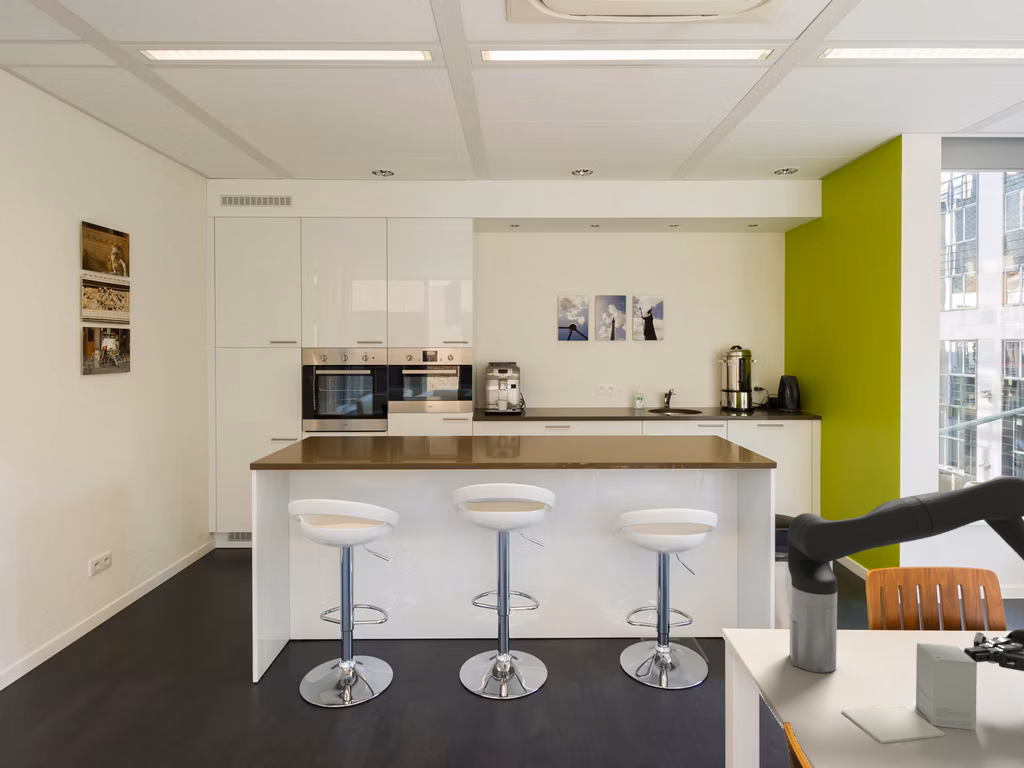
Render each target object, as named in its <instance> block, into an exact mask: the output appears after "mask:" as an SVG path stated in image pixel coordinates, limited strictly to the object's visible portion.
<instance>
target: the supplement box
mask: <svg viewBox="0 0 1024 768" xmlns="http://www.w3.org/2000/svg"><path fill="white" fill-rule="evenodd" d="M977 666H978V662H975V661H974V660H973V659H972V658H970V657H969V656H968V655H967V654H966V653H965V652H964V650H962V649H961V648H960V647H959V646H957V645H948V644H937V643H920V642H917V643H916V671H915V673H916V676H915V677H916V679H915V680H916V682H915V683H916V684H915V687H916V689H915V706H916V708H918V710H919V711H920V712H921V713H922V715H923V716H925V718H926V719H927V720H928V722H929V723H930V724H931V725H933V726H934V727H942V728H952V729H960V730H961V729H962V730H971V731H976V730H977V682H978V681H977V679H978V678H977V675H978V674H977V672H978V671H977V670H978V667H977Z"/></svg>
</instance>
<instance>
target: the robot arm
mask: <svg viewBox="0 0 1024 768" xmlns="http://www.w3.org/2000/svg"><path fill="white" fill-rule="evenodd" d="M1023 517H1024V478H1021V477H1019V476H1015V475H998V476H996V477H994V478H991V479H989V480H986V481H983V482H980V483H977V484H973V485H969V486H966V487H962V488H956V489H951V490H950V489H948V490H942V491H941V490H940V491H934V492H929V493H923V494H916V495H915V494H914V495H909V496H905V497H900V498H897V499H892V500H888V501H886V502H883V503H882V504H880V505H878V506H876V507H875V508H873V509H872V510H871V511H869V512H867V513H866V514H863V515H861V516H858V517H852V518H845V519H839V520H828V519H825V518H824V517H821V516H820V515H817V514H814V513H809V512H806V513H801V514H799V515H796V516H795V517H794V518H793V519H792V520H791V521H790V524H789V526H788V530H787V539H786V540H787V543H786V544H787V567H788V571H789V574H790V579H791V589H790V590H791V594H790V597H791V599H790V603H791V604H790V609H791V611H790V614H789V657H790V663H791V666H793V667H794V666H795V667H798V668H800V669H803V670H807V671H808V672H813V673H822V674H823V673H831V672H834V671H835V670H836V668H837V647H838V646H837V644H838V643H837V642H838V641H837V634H838V633H837V632H838V630H837V627H838V621H837V620H838V579H837V577H836V575H835V574H834V573H835V572H834V571H833V569H832V566H831V564H830V562H833V561H837V560H839V559H842V558H845V557H849V556H851V555H855V554H857V553H861V552H864V551H868V550H871V549H878V548H883V547H888V546H892V545H897V544H902V543H903V544H904V543H907V542H912V541H913V542H914V541H918V540H922V539H927V538H932V537H934V536H939V535H942V534H945V533H948V532H951V531H953V530H957V529H959V528H961V527H964V526H967V525H969V524H973V523H975V522H980V521H984V522H985V523H986V524H987V525H988V526H989V527H990V528H991V529H992V530H993V531H994V532H995V533H996V534H997V535H998V536H999V537H1000V538H1001V539H1002V540H1003V541H1004V543H1006V544H1007V545H1008V547H1010V548H1011V549H1012V550H1013V551H1014V552H1015V554H1017V555H1018V556H1019V557H1020V558H1021V559H1022V561H1024V518H1023ZM984 634H985V633H983V632H976V633H975V636H974V639H973V647H965V648H964V650H963V652H965V653H966V654H967V655H968V656H969V657H970V658H972V659H973V660H974V661H975V662H977V663H985V662H986V663H989V664H992V665H993V664H998V666H999V667H1000V668H1002V669H1008V670H1014V671H1019V672H1020V671H1021V672H1024V628H1022V629H1015V630H1012V631H1010V632H1009V633H1008V634H1007V635H1006V636H1005V637H1004V636H1003V637H999V636H996V637H993V638H992V639H991V638H988V637H987V636H986V635H984Z"/></svg>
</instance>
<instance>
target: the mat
mask: <svg viewBox="0 0 1024 768" xmlns="http://www.w3.org/2000/svg"><path fill="white" fill-rule="evenodd" d="M841 713H842V714H843V715H844V716H846V717H848V719H850V720H851V721H852V722H854V724H856V725H857V726H858V727H860V728H861V729H862V730H863V731H865V732H866V733H868V734H869V735H870V736H871V737H872V738H874V739H875V740H876V741H878V743H880V744H888V743H897V742H905V741H913V740H920V739H928V738H938V737H945V736H946V734H945V732H943V731H942V730H940V729H939V728H937V726H934V725H932V723H931V722H929V721H927V720H925V719H924V718H922V717H921V716H920V715H918V714H917V713H915V712H914V711H912V710H911V709H909V708H908V707H906V705H903V704H902V703H895V704H886V705H885V704H884V705H878V706H877V705H876V706H867V707H860V708H850V709H849V708H848V709H842V710H841Z"/></svg>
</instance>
